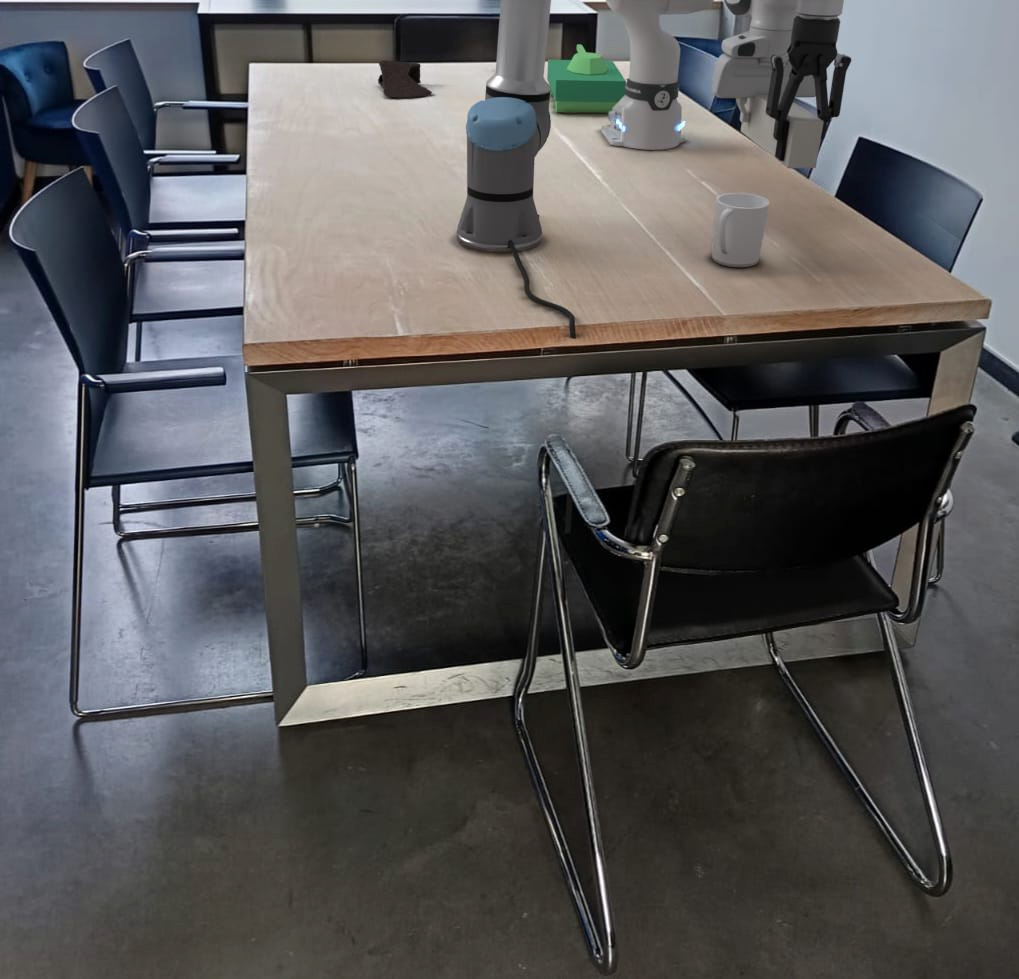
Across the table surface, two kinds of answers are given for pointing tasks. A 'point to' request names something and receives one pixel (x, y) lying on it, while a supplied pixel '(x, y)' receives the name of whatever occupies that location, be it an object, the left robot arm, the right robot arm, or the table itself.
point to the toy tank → (585, 83)
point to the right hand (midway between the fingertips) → (761, 121)
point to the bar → (800, 134)
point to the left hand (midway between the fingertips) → (795, 158)
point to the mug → (739, 229)
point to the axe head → (401, 79)
